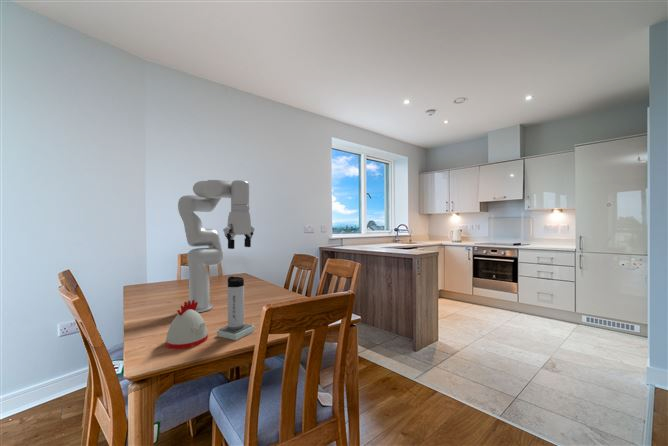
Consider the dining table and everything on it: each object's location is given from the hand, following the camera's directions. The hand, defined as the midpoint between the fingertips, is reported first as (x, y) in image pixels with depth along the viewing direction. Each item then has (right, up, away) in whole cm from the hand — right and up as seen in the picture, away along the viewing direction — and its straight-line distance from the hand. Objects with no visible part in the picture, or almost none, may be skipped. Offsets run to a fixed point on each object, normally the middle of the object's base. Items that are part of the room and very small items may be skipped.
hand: (239, 247), depth 122 cm
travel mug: (+2, -31, -10) cm, 33 cm away
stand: (+2, -34, -11) cm, 35 cm away
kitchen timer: (-14, -34, -17) cm, 41 cm away
